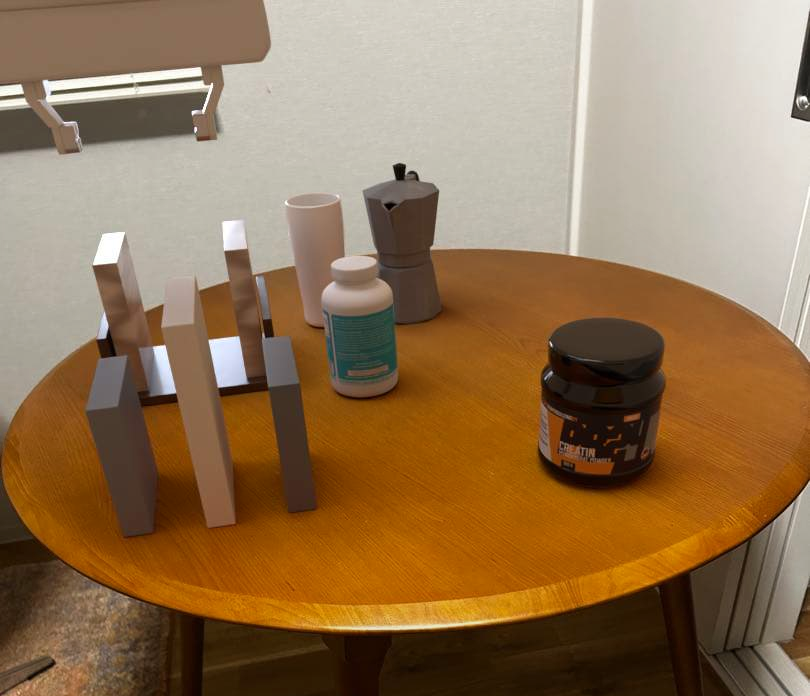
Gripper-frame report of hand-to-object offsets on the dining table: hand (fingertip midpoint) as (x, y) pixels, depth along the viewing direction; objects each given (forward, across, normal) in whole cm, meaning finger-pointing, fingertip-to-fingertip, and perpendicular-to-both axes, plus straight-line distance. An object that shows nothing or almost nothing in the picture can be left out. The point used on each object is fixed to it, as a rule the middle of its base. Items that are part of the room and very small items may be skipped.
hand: (139, 145), depth 60 cm
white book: (+29, 0, 0) cm, 29 cm away
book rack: (+29, +1, -27) cm, 39 cm away
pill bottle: (+29, -17, -18) cm, 38 cm away
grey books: (+29, 0, 0) cm, 29 cm away
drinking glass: (+29, -15, -38) cm, 50 cm away
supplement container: (+29, -34, +5) cm, 45 cm away
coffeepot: (+29, -26, -38) cm, 55 cm away
